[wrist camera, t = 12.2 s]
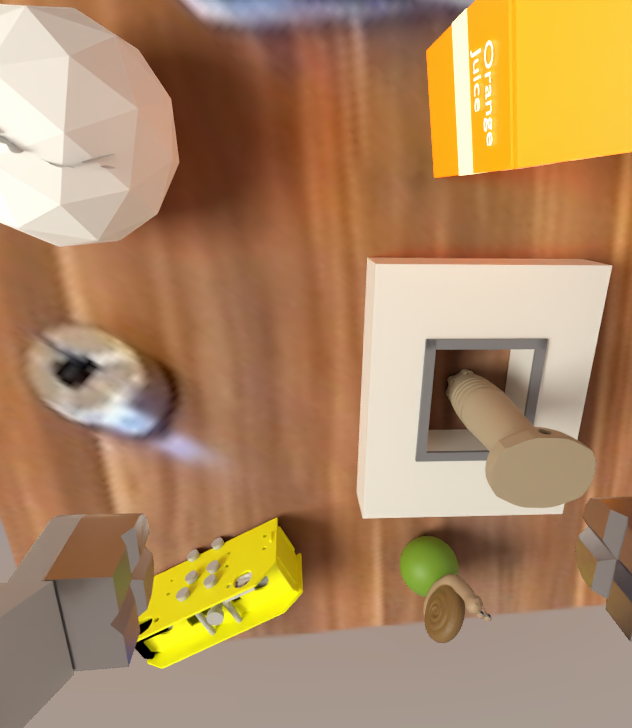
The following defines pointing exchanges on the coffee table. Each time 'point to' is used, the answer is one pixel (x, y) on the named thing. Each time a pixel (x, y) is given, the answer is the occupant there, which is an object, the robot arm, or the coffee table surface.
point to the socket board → (467, 332)
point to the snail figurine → (439, 586)
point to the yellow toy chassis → (219, 594)
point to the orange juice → (531, 84)
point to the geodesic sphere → (79, 129)
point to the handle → (520, 447)
